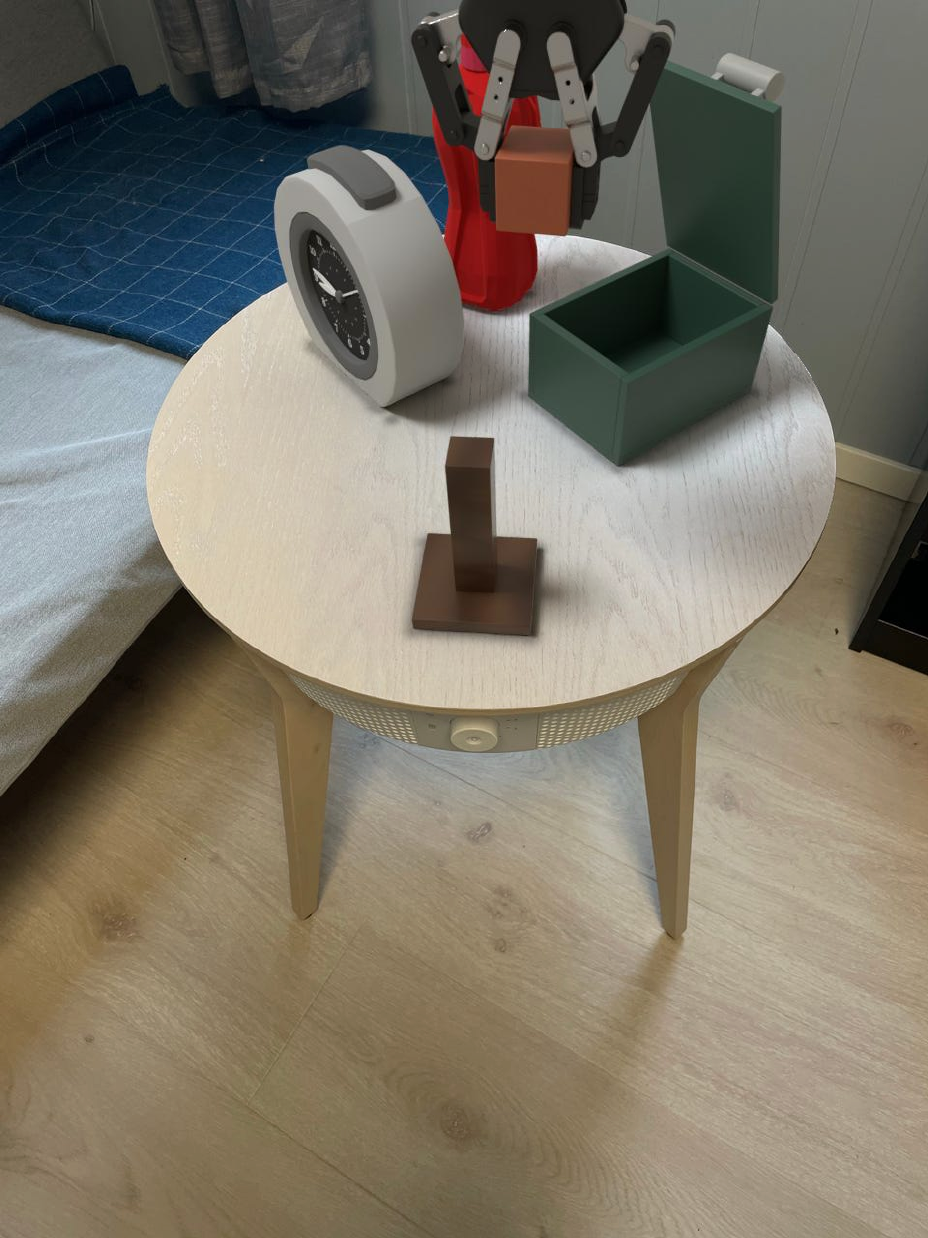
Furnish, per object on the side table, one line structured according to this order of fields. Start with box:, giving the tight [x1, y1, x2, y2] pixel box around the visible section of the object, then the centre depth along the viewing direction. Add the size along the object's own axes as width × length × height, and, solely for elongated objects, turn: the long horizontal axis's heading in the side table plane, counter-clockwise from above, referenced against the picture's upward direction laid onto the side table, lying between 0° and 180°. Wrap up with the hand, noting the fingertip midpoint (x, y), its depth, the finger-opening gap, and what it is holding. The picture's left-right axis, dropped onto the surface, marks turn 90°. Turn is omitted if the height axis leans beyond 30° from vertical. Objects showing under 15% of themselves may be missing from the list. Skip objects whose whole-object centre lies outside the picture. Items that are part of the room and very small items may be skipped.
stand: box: [411, 435, 538, 636], centre depth 62 cm, size 9×9×14 cm
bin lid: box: [649, 52, 786, 305], centre depth 69 cm, size 18×13×5 cm
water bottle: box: [431, 34, 543, 312], centre depth 83 cm, size 9×11×25 cm
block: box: [495, 126, 576, 237], centre depth 50 cm, size 4×4×4 cm
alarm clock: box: [273, 144, 465, 408], centre depth 79 cm, size 21×8×20 cm, turn 36°
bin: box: [527, 247, 774, 467], centre depth 78 cm, size 17×13×9 cm
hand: (537, 218), depth 51 cm, fingers closed on block, 4 cm apart
